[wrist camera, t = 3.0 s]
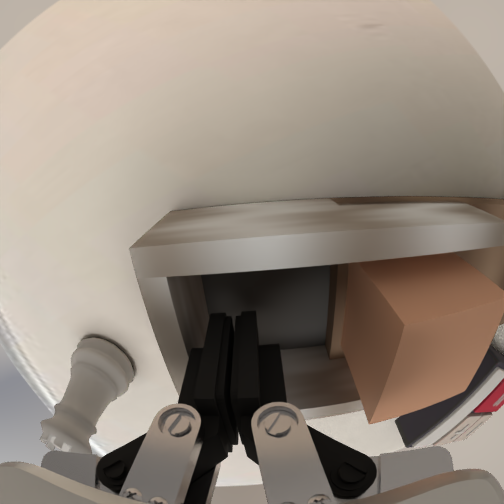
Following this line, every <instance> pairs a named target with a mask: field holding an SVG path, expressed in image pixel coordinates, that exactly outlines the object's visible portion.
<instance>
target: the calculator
mask: <svg viewBox="0 0 504 504" xmlns="http://www.w3.org/2000/svg"><path fill="white" fill-rule="evenodd" d="M503 404H504V356H503V355H502V354H501V353H499V352H498V351H497V350H495V349H494V348H493V347H492V346H491V345H490V346H489V348H488V350H487V352H486V354H485V356H484V358H483V360H482V362H481V364H480V366H479V368H478V370H477V371H476V373H475V375H474V377H473V378H472V380H471V382H470V384H469V385H468V387H467V389H466V390H465V391H464V392H462V393H460V394H457V395H455V396H453V397H450V398H448V399H446V400H443V401H441V402H438V403H436V404H433V405H431V406H428V407H425V408H422V409H420V410H417V411H414V412H411V413H408V414H405V415H401V416H400V417H399V418H397V419H396V420H395V423H396V425H397V428H398V430H399V432H400V435H401V437H402V439H403V442H404V444H405V447H407V448H408V447H413V448H417V447H423V446H429V445H432V444H433V445H434V446H438V445H443V444H447V443H451V442H457V441H460V440H465V439H466V438H468V437H469V436H470V435H471V434H472V433H474V432H475V431H476V430H477V429H478V428H479V427H480V426H482V425H483V424H484V423H485V422H486V421H487V420H488V419H489V418H490V417H491V416H492V413H491V412H494V411H497V410H498V409H499V408H500V407H501V406H502V405H503Z"/></svg>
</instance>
